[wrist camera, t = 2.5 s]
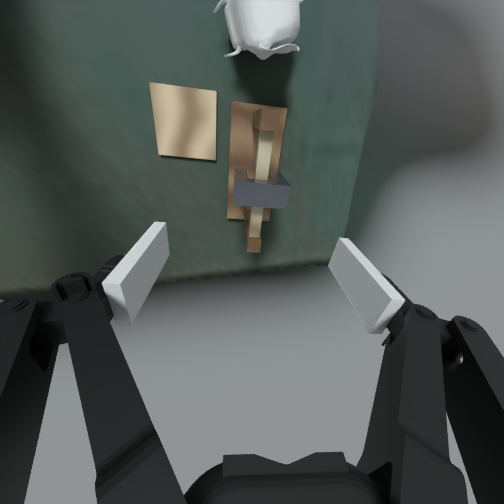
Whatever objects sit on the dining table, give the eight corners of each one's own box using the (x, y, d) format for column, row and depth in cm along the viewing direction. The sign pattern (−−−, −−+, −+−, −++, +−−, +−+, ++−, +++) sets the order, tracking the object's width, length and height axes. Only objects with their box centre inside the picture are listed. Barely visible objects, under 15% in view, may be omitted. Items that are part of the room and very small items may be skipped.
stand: (268, 219, 45) (281, 259, 32) (227, 216, 44) (223, 256, 31) (285, 108, 34) (315, 102, 21) (232, 101, 33) (228, 90, 20)
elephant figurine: (207, -8, 27) (195, -56, 20) (296, -44, 26) (321, -110, 18) (230, 82, 32) (228, 72, 25) (306, 56, 31) (328, 36, 24)
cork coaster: (159, 154, 37) (158, 154, 36) (150, 82, 31) (149, 82, 31) (216, 159, 38) (215, 160, 37) (216, 91, 33) (216, 91, 32)
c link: (233, 187, 33) (232, 205, 26) (234, 167, 31) (234, 180, 24) (276, 191, 34) (286, 209, 27) (279, 171, 32) (290, 186, 25)
